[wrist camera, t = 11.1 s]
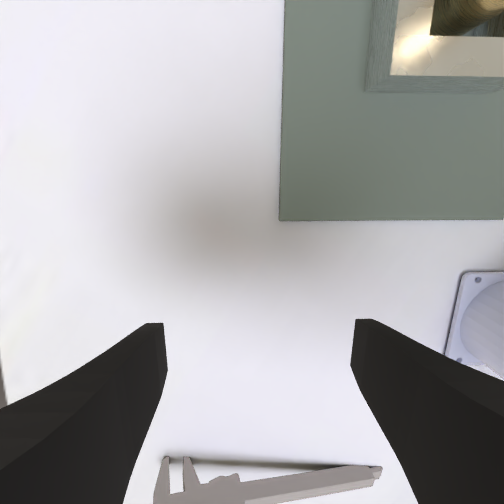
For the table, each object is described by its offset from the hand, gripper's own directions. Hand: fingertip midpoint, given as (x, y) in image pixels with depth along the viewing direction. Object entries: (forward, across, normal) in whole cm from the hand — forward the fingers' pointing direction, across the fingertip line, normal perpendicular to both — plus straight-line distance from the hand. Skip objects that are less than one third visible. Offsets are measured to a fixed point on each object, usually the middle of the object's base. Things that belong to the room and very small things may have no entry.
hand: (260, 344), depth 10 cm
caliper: (+11, -2, +20) cm, 23 cm away
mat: (+10, -10, -12) cm, 19 cm away
